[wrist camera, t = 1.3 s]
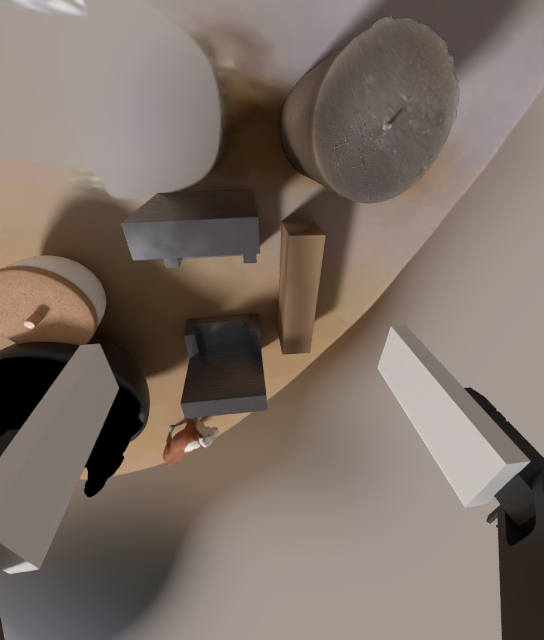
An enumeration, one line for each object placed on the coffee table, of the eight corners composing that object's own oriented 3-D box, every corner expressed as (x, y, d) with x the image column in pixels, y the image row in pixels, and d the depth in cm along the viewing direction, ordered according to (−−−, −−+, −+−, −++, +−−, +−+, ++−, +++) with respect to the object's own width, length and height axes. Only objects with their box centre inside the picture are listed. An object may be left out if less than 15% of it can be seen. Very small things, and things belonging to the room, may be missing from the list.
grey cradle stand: (251, 189, 31) (258, 216, 21) (260, 349, 45) (266, 410, 36) (157, 193, 30) (120, 223, 21) (196, 355, 44) (185, 418, 35)
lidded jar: (113, 249, 33) (77, 285, 26) (122, 320, 39) (95, 366, 32) (12, 235, 31) (-60, 269, 24) (37, 312, 37) (-14, 359, 29)
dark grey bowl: (-12, 347, 39) (-169, 485, 24) (84, 277, 35) (-33, 392, 20) (104, 413, 50) (47, 538, 35) (189, 366, 46) (166, 485, 30)
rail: (312, 220, 34) (325, 235, 29) (301, 327, 44) (309, 352, 39) (281, 220, 34) (289, 235, 29) (277, 329, 44) (282, 354, 39)
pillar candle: (296, 192, 32) (337, 231, 20) (265, 92, 26) (294, 60, 14) (376, 156, 31) (472, 174, 19) (361, 43, 25) (483, -38, 13)
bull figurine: (223, 405, 52) (221, 444, 46) (179, 436, 57) (171, 476, 50) (206, 395, 50) (201, 435, 44) (161, 428, 55) (150, 469, 48)
